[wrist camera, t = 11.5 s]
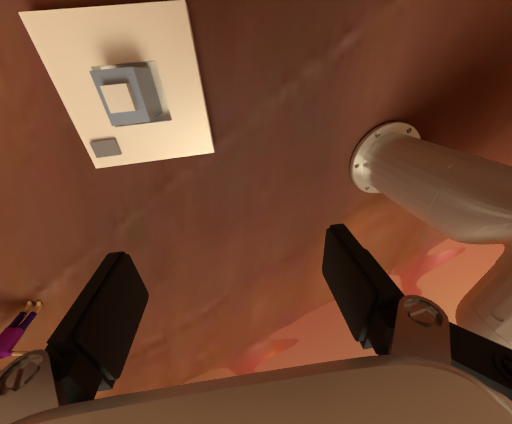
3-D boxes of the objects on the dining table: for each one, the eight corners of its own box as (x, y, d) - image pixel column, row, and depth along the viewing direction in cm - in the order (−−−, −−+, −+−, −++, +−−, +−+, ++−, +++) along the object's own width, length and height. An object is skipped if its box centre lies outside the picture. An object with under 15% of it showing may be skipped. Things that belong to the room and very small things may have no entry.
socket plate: (187, 7, 25) (184, -2, 22) (214, 146, 34) (214, 153, 31) (38, 19, 24) (13, 10, 21) (105, 161, 32) (94, 169, 29)
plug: (150, 68, 27) (129, 66, 20) (163, 112, 30) (147, 123, 23) (116, 72, 27) (83, 70, 20) (132, 116, 30) (108, 127, 23)
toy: (65, 299, 45) (6, 386, 32) (69, 316, 47) (16, 403, 35) (0, 297, 42) (-92, 391, 29) (8, 315, 45) (-74, 409, 32)
